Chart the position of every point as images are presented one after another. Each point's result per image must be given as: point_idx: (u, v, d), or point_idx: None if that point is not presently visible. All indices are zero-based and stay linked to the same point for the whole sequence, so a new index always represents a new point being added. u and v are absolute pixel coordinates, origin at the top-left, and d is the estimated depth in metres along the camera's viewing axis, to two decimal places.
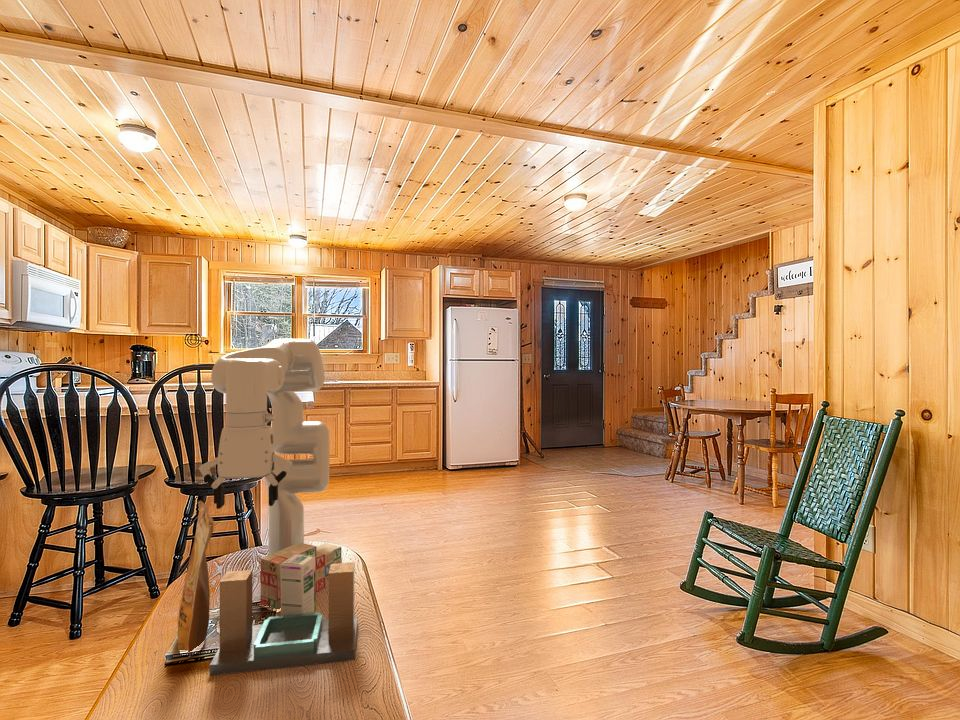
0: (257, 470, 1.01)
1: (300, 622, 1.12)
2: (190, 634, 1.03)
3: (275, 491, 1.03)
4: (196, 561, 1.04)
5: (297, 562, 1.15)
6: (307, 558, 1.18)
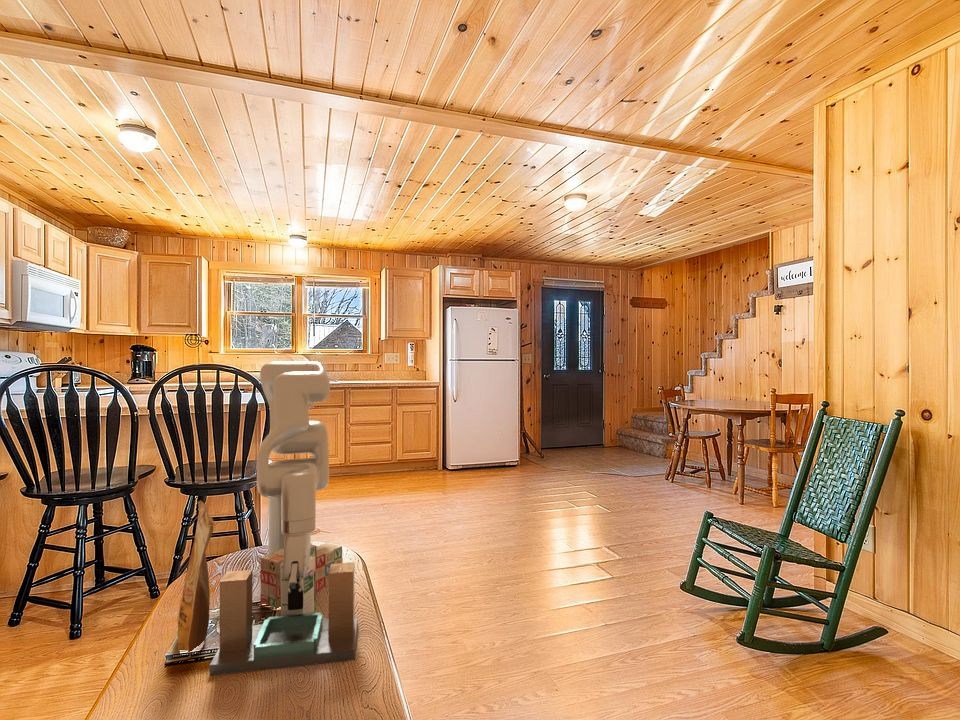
0: None
1: (300, 622, 1.12)
2: (190, 634, 1.03)
3: None
4: (196, 561, 1.04)
5: None
6: None
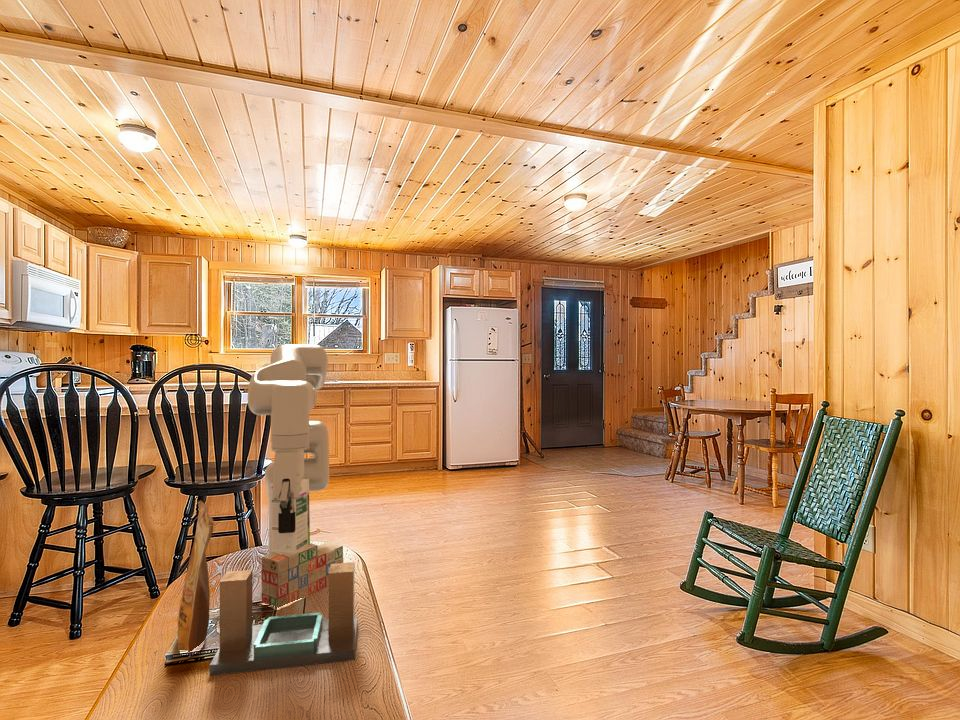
0: None
1: (300, 622, 1.12)
2: (190, 634, 1.03)
3: None
4: (196, 561, 1.04)
5: None
6: None
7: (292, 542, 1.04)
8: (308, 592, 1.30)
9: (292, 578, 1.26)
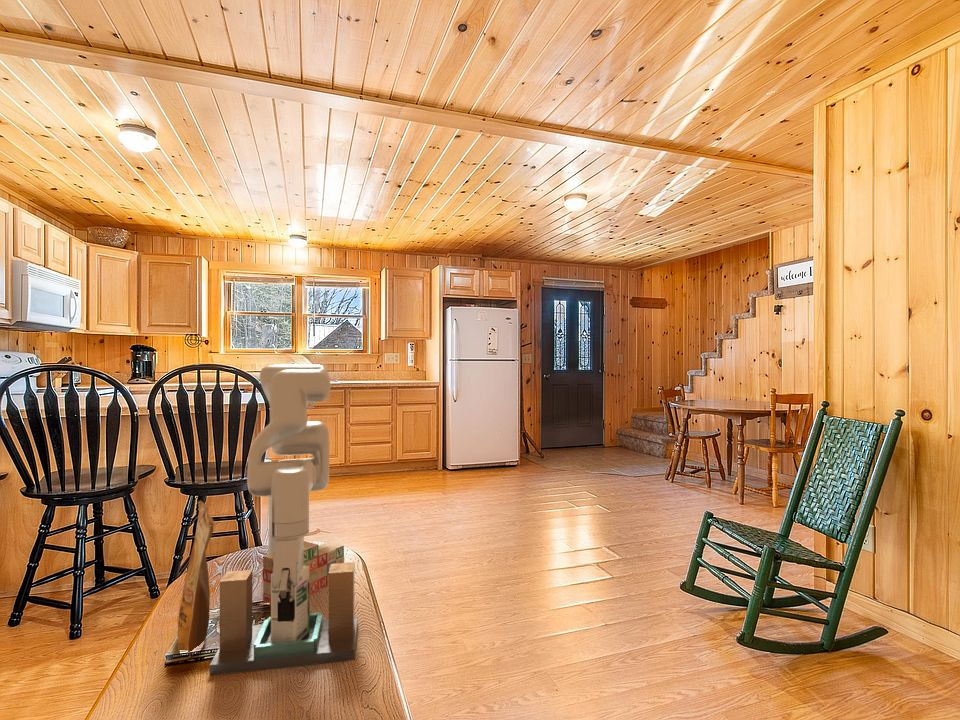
0: None
1: None
2: (190, 634, 1.03)
3: None
4: (196, 561, 1.04)
5: None
6: None
7: (292, 633, 1.04)
8: (309, 591, 1.31)
9: None
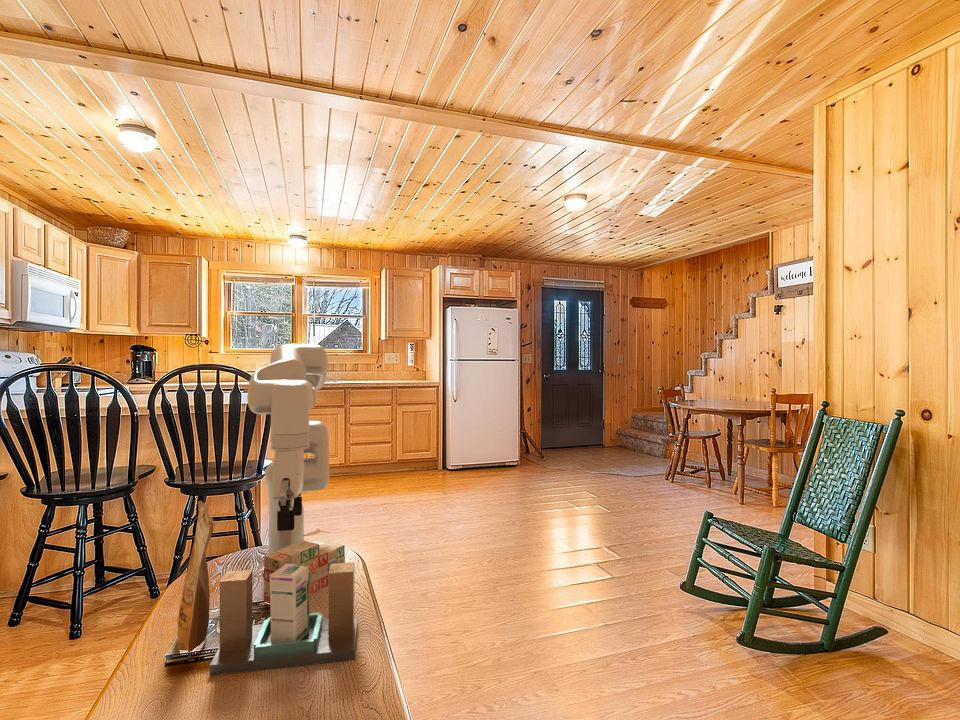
0: (302, 483, 1.10)
1: None
2: (190, 634, 1.03)
3: None
4: (196, 561, 1.04)
5: (289, 573, 1.05)
6: (299, 568, 1.07)
7: (292, 634, 1.04)
8: (310, 591, 1.31)
9: None
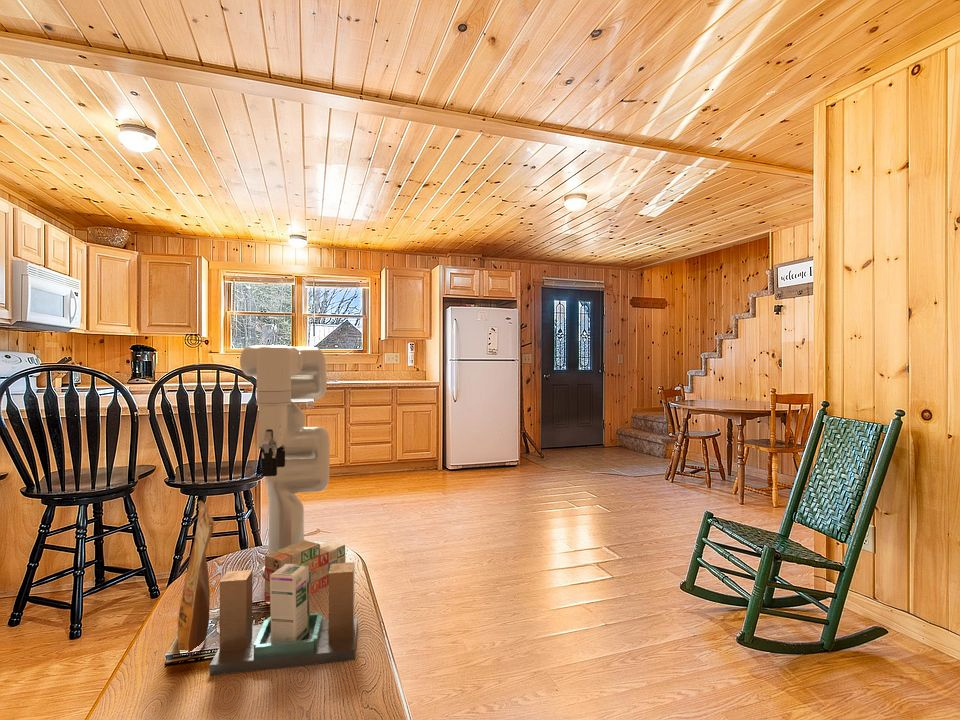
0: (285, 437, 1.22)
1: None
2: (190, 634, 1.03)
3: None
4: (196, 561, 1.04)
5: (289, 573, 1.05)
6: (299, 568, 1.07)
7: (292, 634, 1.04)
8: (311, 590, 1.31)
9: None
